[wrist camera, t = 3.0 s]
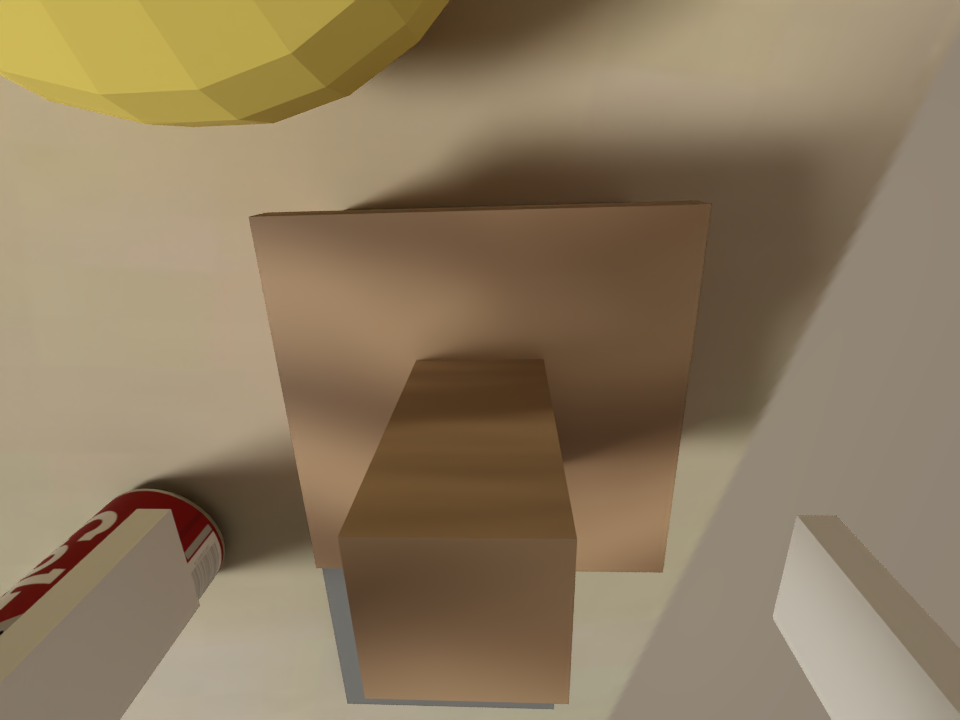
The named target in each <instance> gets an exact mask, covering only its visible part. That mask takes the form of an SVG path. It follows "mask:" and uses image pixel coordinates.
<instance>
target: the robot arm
mask: <svg viewBox="0 0 960 720" xmlns="http://www.w3.org/2000/svg"><path fill="white" fill-rule="evenodd" d="M199 606H200V604H199V601H198V597H197V594H196V591H195V587H194V584H193V581H192V578H191V574H190V571H189V568H188V564H187V561H186V558H185V554H184V551H183V548H182V544H181V541H180V538H179V535H178V531H177V528H176V525H175V521H174V518H173V515H172V511H171V509H136V510H135V511H134V512H133V513H132V514H131V515H130V516H129V517H128V518H127V519H126V520H124V521H123V522H122V523H121V524H120V525H119V526H118V527H117V528H116V529H115V530H114V531H113V532H112V533H110V534H109V535H108V536H107V537H106V538H105V539H104V540H103V541H102V542H101V543H100V544H99V545H98V546H96V547H95V548H94V549H93V550H92V551H91V552H90V553H89V554H88V555H87V556H86V557H85V558H83V559H82V560H81V561H80V562H79V563H78V564H77V565H76V566H75V567H74V568H73V569H72V570H71V571H69V572H68V573H67V574H66V575H65V576H64V577H63V578H62V579H61V580H60V581H59V582H58V583H56V584H55V585H54V586H53V587H52V588H51V589H50V590H49V591H48V592H47V593H46V594H45V595H44V596H42V597H41V598H40V599H39V600H38V601H37V602H36V603H35V604H34V605H33V606H32V607H31V608H30V609H28V610H27V611H26V612H25V613H24V614H23V615H22V616H21V617H20V618H19V619H18V620H17V621H15V622H14V623H13V624H12V625H11V626H10V627H9V628H8V629H7V630H6V631H5V632H4V633H3V634H1V635H0V720H120V719H121V717H122V716H123V714H124V713H125V712H126V710H127V709H128V707H129V706H130V704H131V703H132V702H133V700H134V699H135V697H136V696H137V694H138V693H139V692H140V690H141V689H142V687H143V686H144V684H145V683H146V682H147V680H148V679H149V677H150V676H151V674H152V673H153V672H154V670H155V669H156V667H157V666H158V664H159V663H160V662H161V660H162V659H163V657H164V656H165V654H166V653H167V652H168V650H169V649H170V647H171V646H172V644H173V643H174V642H175V640H176V639H177V637H178V636H179V634H180V633H181V632H182V630H183V629H184V627H185V626H186V625H187V623H188V622H189V620H190V619H191V617H192V616H193V615H194V613H195V612H196V610H197V609H198V607H199ZM773 619H774V621H775V623H776V624H777V626H778V628H779V629H780V632H781V633H782V635H783V636H784V638H785V640H786V642H787V644H788V645H789V647H790V649H791V650H792V652H793V654H794V656H795V657H796V659H797V661H798V662H799V664H800V666H801V668H802V669H803V671H804V673H805V675H806V676H807V678H808V680H809V681H810V683H811V685H812V687H813V688H814V690H815V692H816V694H817V695H818V697H819V699H820V700H821V702H822V704H823V706H824V707H825V709H826V711H827V712H828V714H829V716H830V718H831V719H832V720H960V648H959V647H958V646H957V645H956V644H955V642H954V641H953V640H952V639H951V638H950V637H949V636H948V635H947V634H946V633H945V632H944V631H943V629H942V628H941V627H940V626H939V625H938V624H937V623H936V622H935V621H934V620H933V619H932V618H931V617H930V616H929V614H927V612H926V611H925V610H924V609H923V608H922V607H921V606H920V605H919V604H918V603H917V602H916V601H915V600H914V598H913V597H912V596H911V595H910V594H909V593H908V592H907V591H906V590H905V589H904V588H903V587H902V585H901V584H900V583H899V582H898V581H897V580H896V579H895V578H894V577H893V576H892V575H891V574H890V573H889V572H888V570H887V569H886V568H885V567H884V566H883V565H882V564H881V563H880V562H879V561H878V560H877V559H876V558H875V557H874V555H873V554H872V553H871V552H870V551H869V550H868V549H867V548H866V547H865V546H864V545H863V544H862V543H861V542H860V540H859V539H858V538H857V537H856V536H855V535H854V534H853V533H852V532H851V531H850V530H849V529H848V527H846V526H845V524H844V523H843V522H842V521H841V520H840V519H839V518H838V517H837V516H823V515H820V516H819V515H814V516H813V515H797V517H796V521H795V525H794V530H793V534H792V538H791V542H790V546H789V551H788V555H787V559H786V563H785V567H784V572H783V576H782V580H781V584H780V588H779V593H778V597H777V601H776V605H775V610H774V614H773Z"/></svg>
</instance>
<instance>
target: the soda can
mask: <svg viewBox="0 0 960 720" xmlns="http://www.w3.org/2000/svg"><path fill="white" fill-rule="evenodd" d="M136 509H171V511H172V515H173V518H174V521H175V525H176V528H177V531H178V535H179V538H180V541H181V544H182V548H183V551H184V554H185V558H186V561H187V564H188V568H189V571H190V574H191V578H192V581H193V584H194V587H195V591H196V594H197V597H198V600H199V599H200V598H201V596H202V595H203V593H204V592H205V590H206V589H207V588H208V586H209V585H210V583H211V582H212V580H213V579H214V577H215V576H216V575H217V573H218V572H219V570H220V569H221V567H222V565H223V562H224V558H225V544H224V539H223V536H222V534H221V532H220V530H219V528H218V526H217V525H216V523H215V522H214V520H213V519H212V518H211V517H210V516H209V515H208V514H207V513H206V512H205V511H204V510H203V509H202V508H201V507H199V506H198V505H197V504H195V503H194V502H192V501H190V500H188V499H187V498H185V497H183V496H180V495H178V494H175V493H172V492H169V491H165V490H159V489H137V490H132V491H129V492H126V493H123V494H121V495H119V496H118V497H116V498H115V499H114V500H112V501H111V502H110V503H109V504H108V505H106V506H105V507H104V508H103V509H102V510H101V511H100V512H98V513H97V514H96V515H95V516H94V517H93V518H92V519H90V520H89V521H88V522H87V523H86V524H85V525H83V526H82V527H81V528H80V529H79V530H78V531H77V532H75V533H74V534H73V535H72V536H71V537H70V538H68V539H67V540H66V541H65V542H64V543H63V544H62V545H60V546H59V547H58V548H57V549H56V550H55V551H54V552H52V553H51V554H50V555H49V556H48V557H47V558H45V559H44V560H43V561H42V562H41V563H40V564H39V565H37V566H36V567H35V568H34V569H33V570H32V571H31V572H29V573H28V574H27V575H26V576H25V577H24V578H22V579H21V580H20V581H19V582H18V583H17V584H16V585H14V586H13V587H12V588H11V589H10V590H9V591H8V592H6V593H5V594H4V595H3V596H2V597H1V598H0V635H1V634H3V633H4V632H5V631H6V630H7V629H8V628H9V627H10V626H11V625H12V624H13V623H14V622H15V621H17V620H18V619H19V618H20V617H21V616H22V615H23V614H24V613H25V612H26V611H27V610H28V609H30V608H31V607H32V606H33V605H34V604H35V603H36V602H37V601H38V600H39V599H40V598H41V597H42V596H44V595H45V594H46V593H47V592H48V591H49V590H50V589H51V588H52V587H53V586H54V585H55V584H56V583H58V582H59V581H60V580H61V579H62V578H63V577H64V576H65V575H66V574H67V573H68V572H69V571H71V570H72V569H73V568H74V567H75V566H76V565H77V564H78V563H79V562H80V561H81V560H82V559H83V558H85V557H86V556H87V555H88V554H89V553H90V552H91V551H92V550H93V549H94V548H95V547H96V546H98V545H99V544H100V543H101V542H102V541H103V540H104V539H105V538H106V537H107V536H108V535H109V534H110V533H112V532H113V531H114V530H115V529H116V528H117V527H118V526H119V525H120V524H121V523H122V522H123V521H124V520H126V519H127V518H128V517H129V516H130V515H131V514H132V513H133V512H134V511H135V510H136Z"/></svg>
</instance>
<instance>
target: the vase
mask: <svg viewBox="0 0 960 720" xmlns="http://www.w3.org/2000/svg"><path fill="white" fill-rule="evenodd" d="M449 1H450V0H0V75H1V76H3V77H5V78H7V79H9V80H11V81H13V82H15V83H16V84H18V85H20V86H22V87H24V88H26V89H28V90H30V91H32V92H34V93H36V94H38V95H40V96H42V97H43V98H45V99H47V100H49V101H52V102H56V103H61V104H65V105H69V106H73V107H77V108H81V109H85V110H90V111H94V112H98V113H102V114H106V115H110V116H114V117H119V118H123V119H127V120H131V121H135V122H139V123H144V124H153V125H170V126H187V127H201V126H223V125H244V124H265V123H275V122H278V121H281V120H283V119H286V118H289V117H291V116H294V115H297V114H300V113H302V112H305V111H308V110H310V109H313V108H316V107H319V106H321V105H324V104H327V103H329V102H332V101H335V100H338V99H340V98H343V97H346V96H348V95H350V94H352V93H353V92H354V91H355V90H357V89H358V88H359V87H361V86H362V85H363V84H365V83H366V82H367V81H368V80H370V79H371V78H372V77H374V76H375V75H376V74H378V73H379V72H380V71H381V70H383V69H384V68H385V67H387V66H388V65H389V64H391V63H392V62H393V61H395V60H396V59H397V58H398V57H400V56H401V55H402V54H404V53H405V52H406V51H408V50H409V49H410V48H411V47H413V46H414V45H415V44H417V43H418V42H419V41H420V40H421V38H422V37H423V36H424V34H425V33H426V32H427V30H428V29H429V28H430V26H431V25H432V24H433V22H434V21H435V20H436V18H437V17H438V16H439V14H440V13H441V12H442V10H443V9H444V8H445V6H446V5H447V4H448V2H449Z"/></svg>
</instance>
